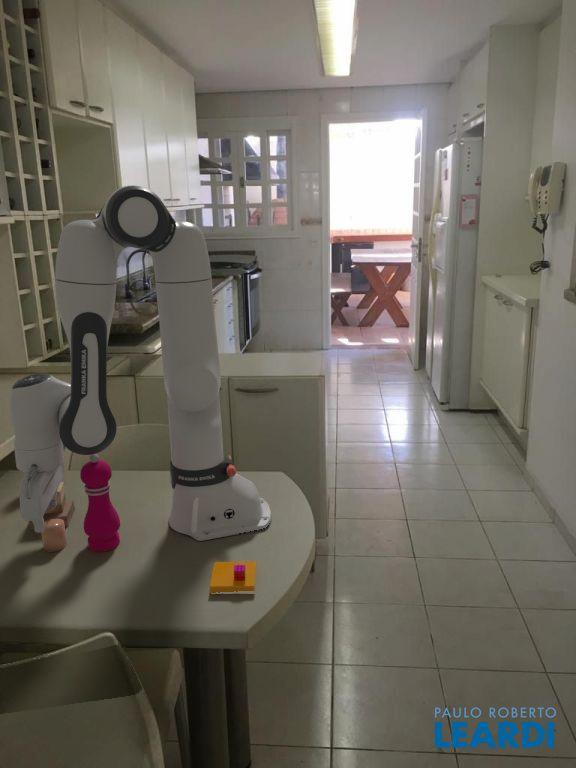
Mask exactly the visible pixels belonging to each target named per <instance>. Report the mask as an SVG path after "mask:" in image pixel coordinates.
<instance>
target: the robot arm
mask: <svg viewBox="0 0 576 768" xmlns="http://www.w3.org/2000/svg"><path fill="white" fill-rule="evenodd" d="M127 248H133V249H139V250H140V249H141V250H144V251H148V253H149V255H150V257H151V259H152V263H153V269H154V272H153V273H154V280H155V281H154V283H155V293H156V303H157V311H158V320H159V333H160V335H159V336H160V345H161V346H160V347H161V357H162V358H161V359H162V370H163V372H162V373H163V379H164V380H163V382H164V387H165V392H166V395H167V396H166V397H167V411H168V412H167V413H168V430H169V432H168V433H169V443H170V455H171V460H170V462H169V477H170V484H171V488H172V497H171V498H172V500H171V507H170V508H171V510H170V515H169V518H168V524H169V526H170V527H171V529H172V530H174V531H175V532H177V533H180V534H182V535H187V536H190V537H191V538H193V539H194V540H196V541H201V542H202V541H208V540H213V539H218V538H223V537H229V536H234V535H235V536H236V535H240V534H239V533H241V534H244V532H246V533H251V532H255V531H254V530H257V531H260V530H259V529H262V530H264V529H263V528H265V529H267V528H268V527H269V526H270V524H271V522H270V521H272V511H271V507H270V505H269V503H268V502H267V501H266V500H265V499H264V498H262V497H260V493H259V491H258V489H257V487H256V486H255V485H256V484H254V483H253V482H252V481H251V480H249V479H247V478H245V477H244V476H242V475H240V474H239V473H237V468H236V466H235V465H234V461H233V460H232V456H231V455H228V456H226V455H224V446H223V445H224V444H223V428H222V427H223V424H222V415H221V403H220V388H221V385H222V382H221V381H222V378H221V367H220V366H221V365H220V358H219V357H220V356H219V345H218V336H217V328H216V319H215V304H214V294H213V293H214V291H213V279H212V268H211V261H210V256H209V251H208V247H207V242H206V240H205V235H204V233H203V230H202V229H201V228H200V227H199V226H198V225H197V224H194V223H192V222H190V221H186V220H175V218H174V217H173V216H172V215H171V212H170V211H169V210H168V209H167V207H166V205H165V204H164V202H163V201H162V199H161V197H159V196H158V195H157V194H156V193H155V192H153V191H152V190H151V189H149V188H146V187H144V186H139V185H125V186H121V187H119V188H117V189H115V190H114V191H113V192H112V193H110V195H109V196H107V199H106V200H105V203H104V204H103V206H102V208H101V210H100V211H99V213H98V214H97V216H96V217H95V218H94V219H77V220H73V221H71V222H68V224H66V225H65V226H64V227H63V228H62V230H61V232H60V237H59V241H58V246H57V252H56V258H55V268H54V269H55V273H54V274H55V275H54V278H55V279H54V280H55V281H54V287H55V290H54V291H55V300H56V306H57V310H58V315H59V318H60V321H61V324H62V327H63V330H64V332H65V335H66V339H67V343H68V346H69V354H70V383H69V382H67V381H63V380H62V379H61V380H60V379H58V378H57V377H55V376H53V375H52V374H49V373H36V374H34V373H33V374H31V375H28V376H24V377H22V378H21V379H19V380H17V381H16V382H15V383H14V384H13V386H12V387H11V389H10V395H9V411H10V412H9V413H10V421H11V426H12V428H13V431H14V440H13V447H14V456H15V464H16V469H17V470H18V471H20V472H23V474H24V477H23V478H22V480H21V482H20V484H19V509H20V517H21V520H23V521H26V522H29V521H32V522H33V524H34V532H35V533H37V534H38V533H41V532H44V530H45V528H46V522H45V521H44V518H43V516H44V513H45V511H46V509H48V510H51V509H52V510H53V509H55V507H56V505H57V502H56V497H57V488H58V486H59V484H60V482H62V480H63V479H64V470H65V457H64V456H65V451H66V449H67V450H69V451H70V452H72V453H75V454H77V455H83V456H91V455H92V454H99V453H100V452H103V451H105V450H106V449H107V448H108V447H110V445H112V444H113V443H112V442H113V441H114V439H115V437H116V434H117V429H118V427H117V422H116V419H115V417H114V415H113V413H112V411H111V408H110V406H109V403H108V394H107V391H108V390H107V387H108V386H107V381H108V380H107V379H108V378H107V376H108V374H107V373H108V371H107V370H108V369H107V367H108V366H107V365H108V364H107V363H108V361H107V360H108V357H107V356H108V344H109V337H110V333H111V326H112V322H113V321H112V320H113V315H114V310H115V303H116V295H117V278H118V277H117V275H118V271H117V270H118V262H119V258H120V256H121V254H122V252H123V251H124V250H126V249H127ZM269 523H270V524H269ZM268 525H269V526H268ZM267 526H268V527H267ZM266 527H267V528H266ZM250 531H251V532H250Z"/></svg>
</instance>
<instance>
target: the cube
mask: <svg viewBox="0 0 576 768" xmlns="http://www.w3.org/2000/svg"><path fill="white" fill-rule="evenodd" d="M66 497H67V495H66V490H65V482H64V481H61V482H60V484H59V486H58V488H57V497H56V502H57V505H56V507H55V509H53V510H52V509H51V510H48V509H46V511H45V513H44V514H49V513H59V512H63V510H64V507H65V504H66V500H67V498H66Z"/></svg>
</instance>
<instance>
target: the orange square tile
mask: <svg viewBox="0 0 576 768" xmlns="http://www.w3.org/2000/svg"><path fill="white" fill-rule="evenodd" d="M256 568H257V561H254V560H253V561H214V564H213V569H212V574H211V579H210V583H209V594H210V593H216V592H218V593H220V592H234V591H236V592H238V591H255V592H256V585H255V580H256V581H257V572H256ZM257 569H258V568H257Z"/></svg>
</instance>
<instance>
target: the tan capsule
mask: <svg viewBox="0 0 576 768" xmlns="http://www.w3.org/2000/svg"><path fill="white" fill-rule="evenodd" d="M45 522H46V528H45V530H44V532H40V533H41V540H42V548H43V550H44V551H46V552H49V553H52V552H59V551H61V550H63V549H65V548H66V547H67V545H68V541H67V532H66V527H65V525H64V521H63V520H62V519H50V520H47V521H45Z"/></svg>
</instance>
